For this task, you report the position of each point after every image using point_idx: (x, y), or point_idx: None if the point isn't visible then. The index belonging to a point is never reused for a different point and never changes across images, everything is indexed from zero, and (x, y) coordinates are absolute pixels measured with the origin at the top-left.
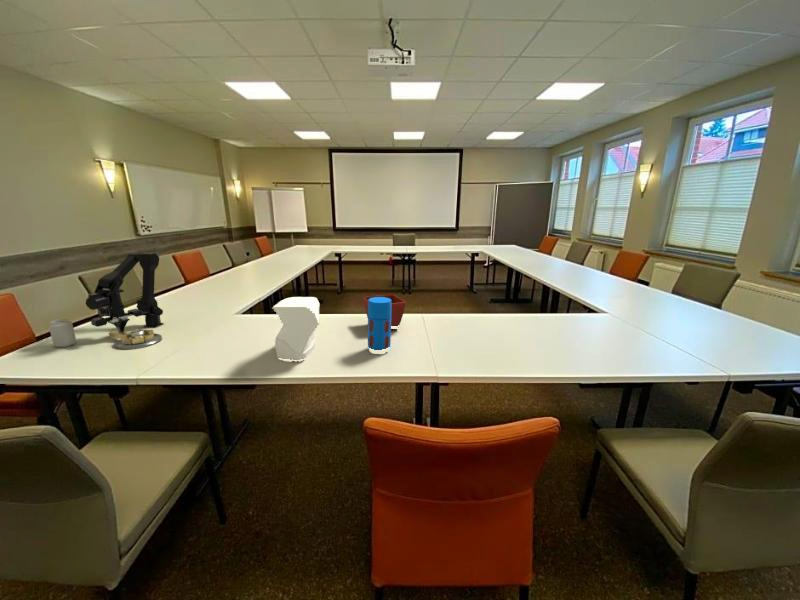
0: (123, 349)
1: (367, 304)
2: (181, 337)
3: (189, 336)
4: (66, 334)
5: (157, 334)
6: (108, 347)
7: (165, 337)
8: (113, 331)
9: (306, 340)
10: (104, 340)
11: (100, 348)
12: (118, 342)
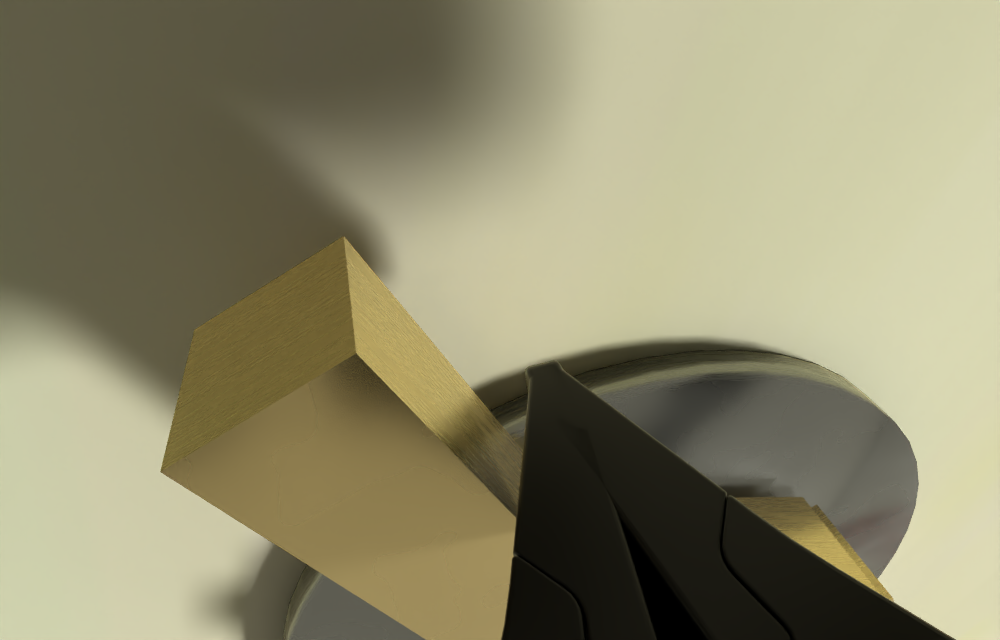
0: None
1: None
2: (923, 618)
3: (968, 619)
4: None
5: (896, 524)
6: (183, 631)
7: None
8: (348, 407)
9: None
10: (23, 137)
11: (37, 630)
12: (357, 617)
